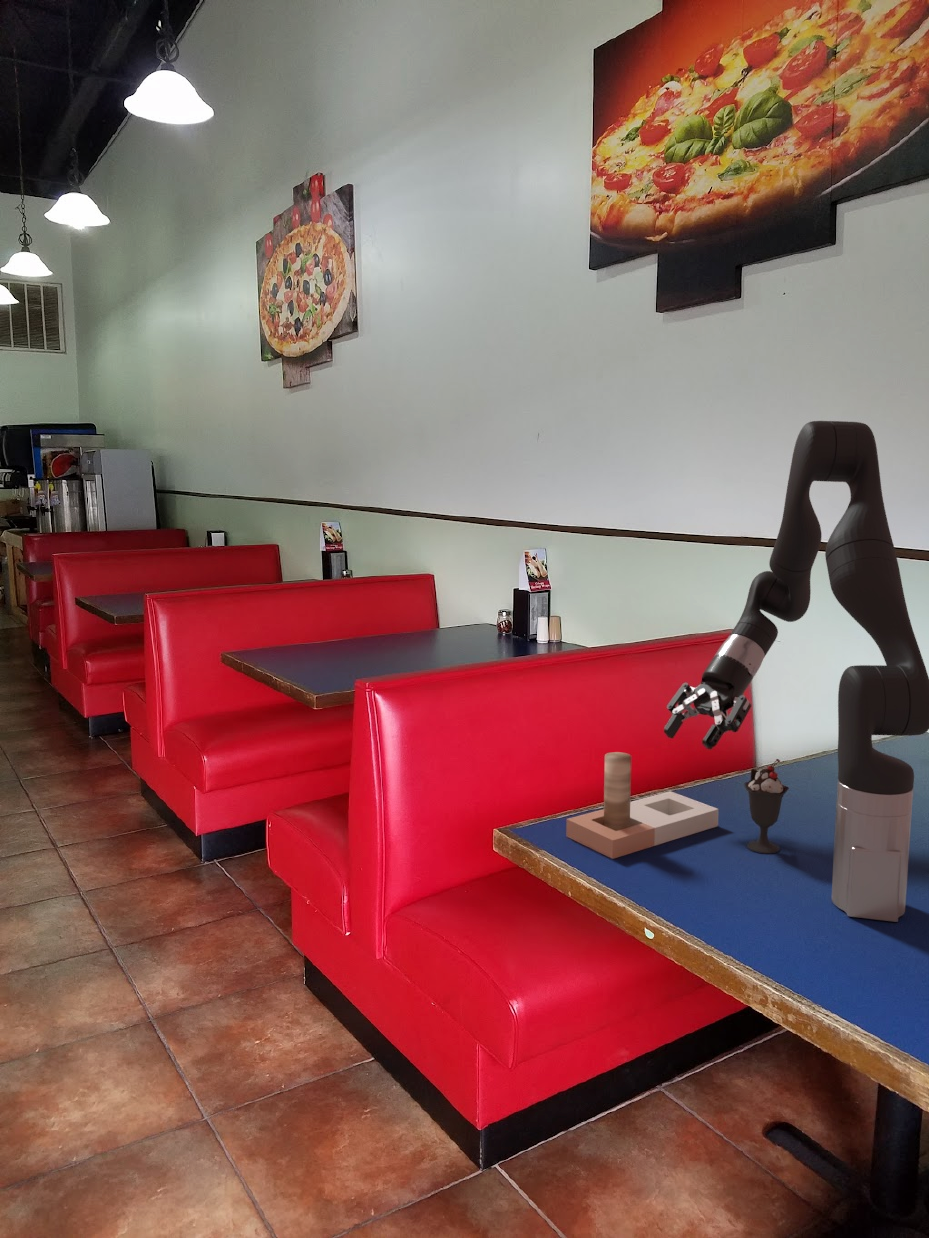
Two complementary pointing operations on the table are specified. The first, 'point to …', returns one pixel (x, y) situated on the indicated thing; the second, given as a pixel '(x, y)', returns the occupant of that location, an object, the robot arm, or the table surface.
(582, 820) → the dock board
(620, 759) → the peg
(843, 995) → the table surface
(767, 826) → the sundae
